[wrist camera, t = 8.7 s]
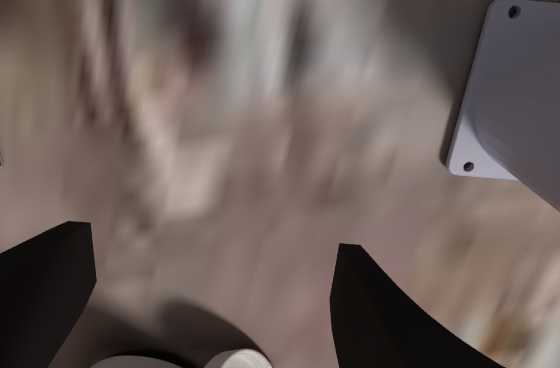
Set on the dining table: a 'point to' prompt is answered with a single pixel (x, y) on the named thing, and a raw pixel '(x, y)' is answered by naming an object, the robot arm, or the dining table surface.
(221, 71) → the dining table surface
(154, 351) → the spread jar
